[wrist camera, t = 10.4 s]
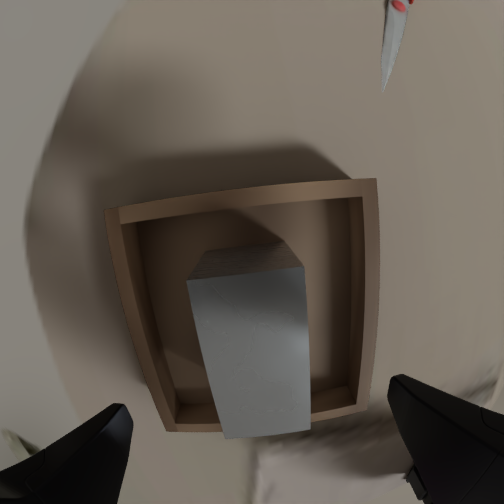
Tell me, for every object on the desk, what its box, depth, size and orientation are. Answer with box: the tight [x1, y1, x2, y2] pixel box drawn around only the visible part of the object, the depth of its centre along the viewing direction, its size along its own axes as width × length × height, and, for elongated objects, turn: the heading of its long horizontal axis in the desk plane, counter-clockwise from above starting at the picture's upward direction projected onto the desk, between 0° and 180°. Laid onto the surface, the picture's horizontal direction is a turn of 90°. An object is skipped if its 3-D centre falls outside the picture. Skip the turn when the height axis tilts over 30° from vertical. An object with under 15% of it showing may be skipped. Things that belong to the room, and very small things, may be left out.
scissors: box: [381, 0, 414, 92], centre depth 12 cm, size 8×21×2 cm, turn 175°
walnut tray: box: [104, 178, 380, 432], centre depth 15 cm, size 13×14×3 cm
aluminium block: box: [186, 241, 311, 439], centre depth 13 cm, size 8×4×5 cm, turn 7°
